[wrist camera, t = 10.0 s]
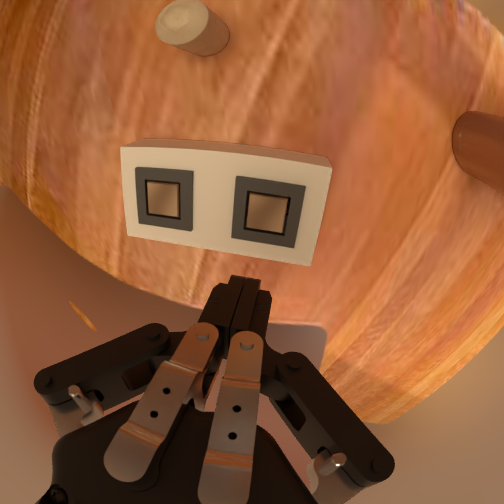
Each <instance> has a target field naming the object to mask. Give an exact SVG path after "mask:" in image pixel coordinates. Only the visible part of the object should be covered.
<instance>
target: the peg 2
mask: <svg viewBox="0 0 504 504" xmlns="http://www.w3.org/2000/svg"><path fill="white" fill-rule="evenodd" d="M287 202H288V197H286V196H280V195H274V194H268V193H261V192H254V191H251V192H250V196H249V206H248V216H247V226H246V227H248V228H254V229H260V230H266V231H273V232H279V233H282V232H283V226H284V220H285V214H286V208H287Z"/></svg>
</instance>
